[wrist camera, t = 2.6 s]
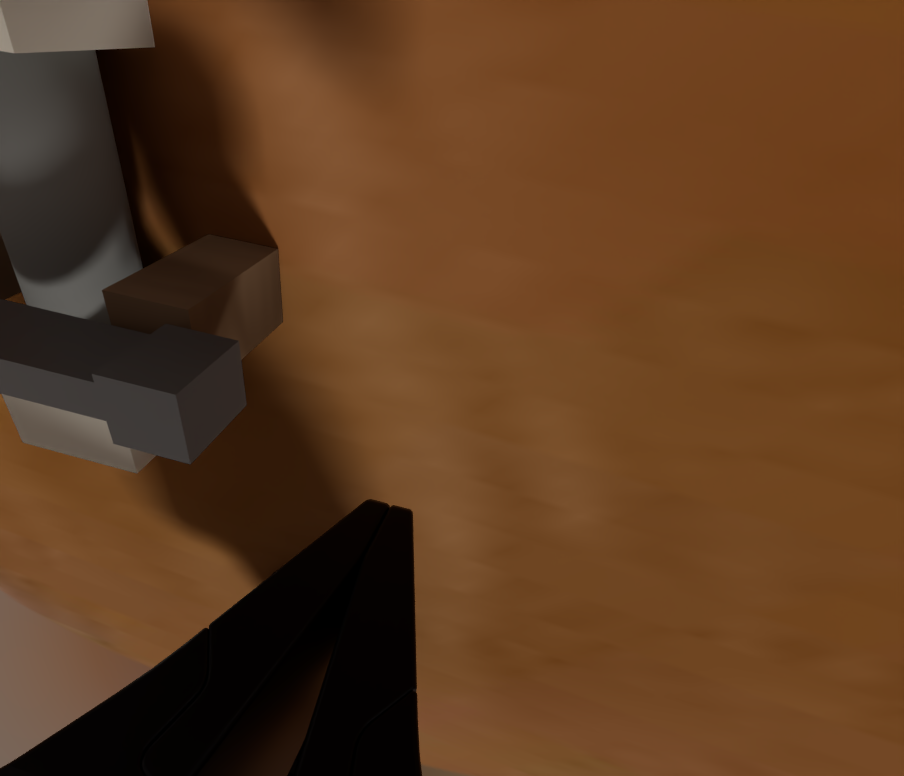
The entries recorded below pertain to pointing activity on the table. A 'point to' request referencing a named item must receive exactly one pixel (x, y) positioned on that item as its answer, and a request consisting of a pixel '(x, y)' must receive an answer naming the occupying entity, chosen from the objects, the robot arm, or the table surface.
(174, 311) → the dark brown block
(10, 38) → the square-ended dumbbell
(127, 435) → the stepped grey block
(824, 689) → the table surface
